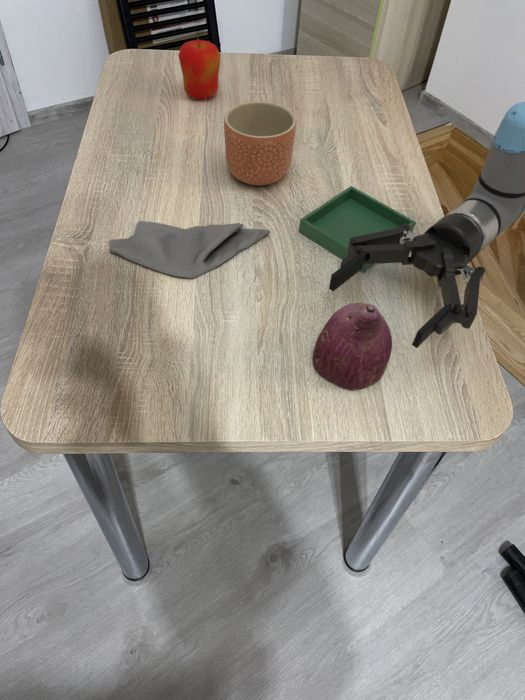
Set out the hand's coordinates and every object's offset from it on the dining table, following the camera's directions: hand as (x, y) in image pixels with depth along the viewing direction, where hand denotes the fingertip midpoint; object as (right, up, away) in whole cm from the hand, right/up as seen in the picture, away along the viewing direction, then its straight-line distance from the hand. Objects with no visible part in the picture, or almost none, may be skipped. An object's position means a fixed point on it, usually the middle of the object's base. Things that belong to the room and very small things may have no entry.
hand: (372, 310), depth 69 cm
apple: (-28, +51, +49) cm, 75 cm away
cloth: (-26, +11, +18) cm, 33 cm away
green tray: (+1, +15, +22) cm, 26 cm away
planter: (-15, +28, +31) cm, 44 cm away
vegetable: (-2, -6, +5) cm, 9 cm away
